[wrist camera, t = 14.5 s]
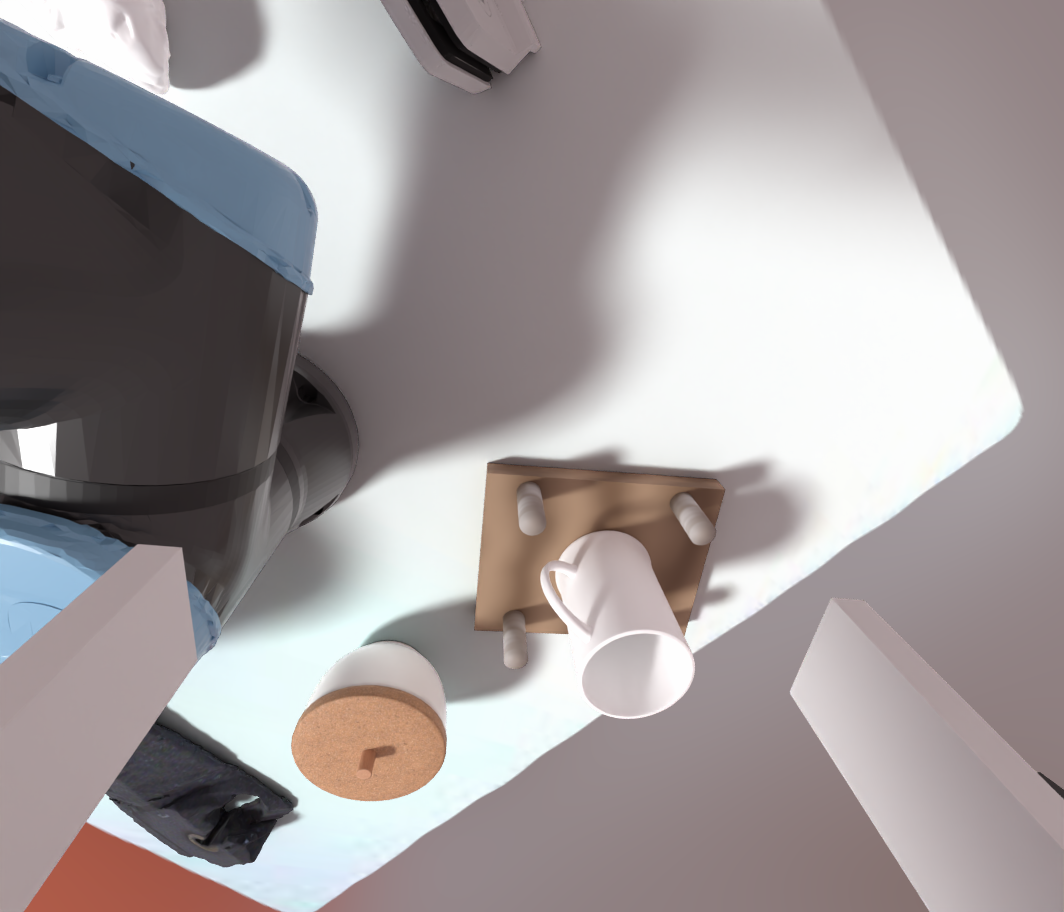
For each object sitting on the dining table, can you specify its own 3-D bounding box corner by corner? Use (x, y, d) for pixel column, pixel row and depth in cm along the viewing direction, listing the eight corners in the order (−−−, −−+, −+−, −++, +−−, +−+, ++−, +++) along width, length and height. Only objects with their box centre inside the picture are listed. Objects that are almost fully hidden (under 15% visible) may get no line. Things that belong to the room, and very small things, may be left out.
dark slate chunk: (159, 686, 51) (128, 728, 47) (307, 805, 60) (292, 851, 55) (46, 748, 54) (6, 794, 49) (203, 855, 62) (181, 903, 57)
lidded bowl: (464, 704, 54) (457, 812, 44) (344, 723, 54) (309, 835, 44) (439, 608, 49) (425, 705, 39) (306, 628, 49) (258, 731, 39)
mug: (507, 555, 45) (512, 660, 34) (576, 488, 43) (605, 577, 32) (601, 624, 49) (633, 739, 38) (669, 566, 47) (724, 669, 36)
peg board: (475, 615, 50) (472, 672, 43) (487, 463, 44) (486, 502, 37) (676, 624, 52) (702, 679, 46) (716, 479, 46) (752, 519, 39)
